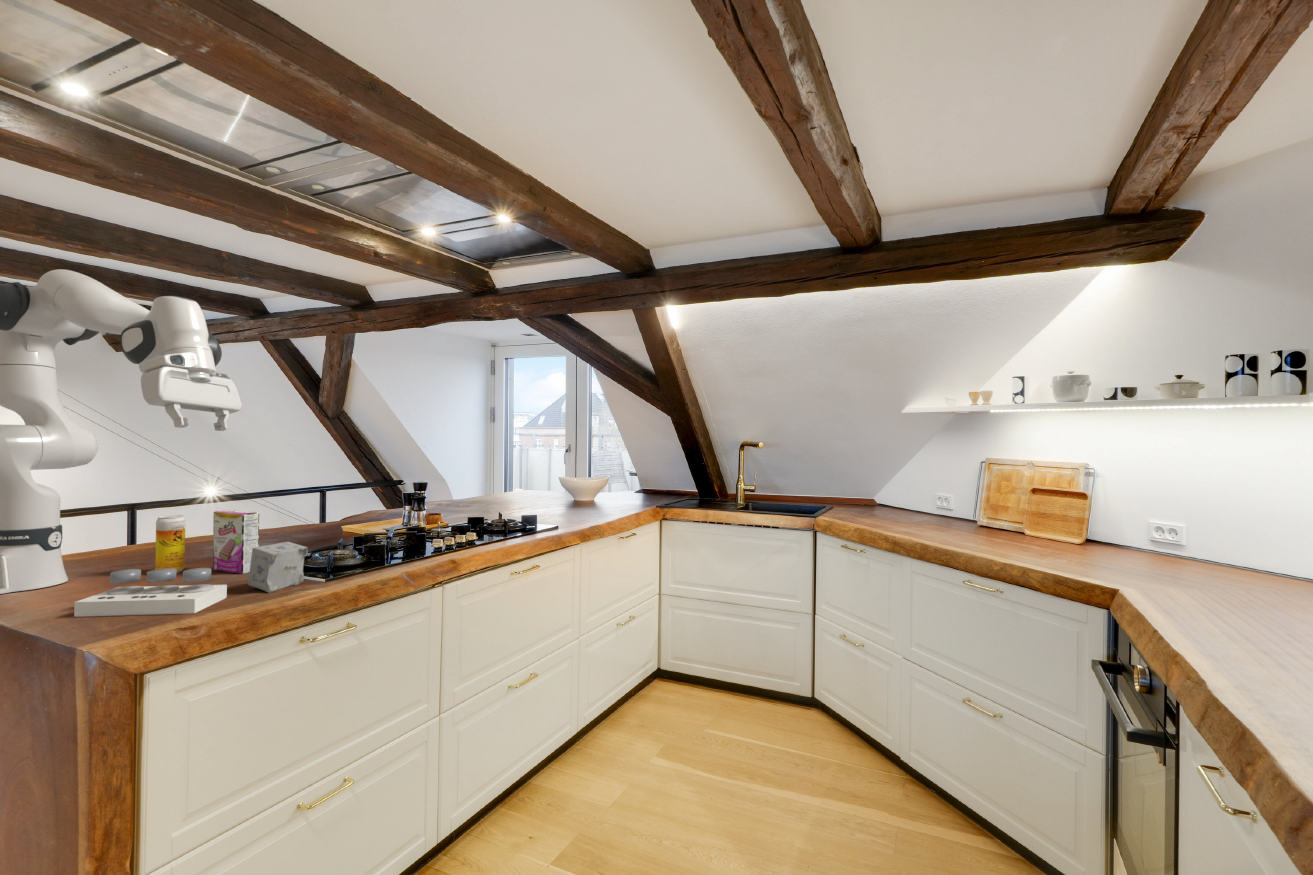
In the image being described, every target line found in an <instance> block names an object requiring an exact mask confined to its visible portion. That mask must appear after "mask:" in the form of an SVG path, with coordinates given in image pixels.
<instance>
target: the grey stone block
mask: <svg viewBox="0 0 1313 875" xmlns="http://www.w3.org/2000/svg"><path fill="white" fill-rule="evenodd" d="M308 549H309V548H308V546H304V545H301V544H297V543H294V542H291V541H283V542H278V543H273V544H268V545H261V546H260V545H259V547H254V548H253V549H252V556H251V564H250V573H248V581H247V585H248V586H250V587H252V588H255V589H260V590H262V591H264V592H266V593H273V592H275V591H277V590H282V589H283V588H288V587H291V586H297V585H300V584H302V583H304V578H305V575H304V564H305V557H307V556H308V553H309V551H308Z"/></svg>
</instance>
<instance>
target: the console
mask: <svg viewBox="0 0 1313 875" xmlns="http://www.w3.org/2000/svg"><path fill="white" fill-rule="evenodd" d="M227 590H228V584H207V583H206V584H203V583H202V584H193V585H192V584H191V585H176V584H168V585H167V584H165V585H153V586H151V585H150V586H145V585H144V586H141V585H129V586H117V587H114V588H111V589H108V590H105V591H103V592H101V593H97V594H94V595H91V596H88V597H86V598H83V599H80V600H76V601H74V605H73V606H74V607H73V608H74V611H73V613H74V614H73V615H74V618H75V617H77V618H79V617H106V616H107V617H112V616H113V617H114V616H115V617H117V616H142V615H143V616H145V615H146V616H151V615H174V614H175V615H180V614H181V615H183V614H185V615H186V614H196V613H198V612H199V611H202V610H204V609H206V608H208V607H210V606H212V605H215V604H217V603H218V602H220V601H223V600H225V599H227V597H228V596H227V595H228V593H227V592H228V591H227Z"/></svg>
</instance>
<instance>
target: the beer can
mask: <svg viewBox="0 0 1313 875" xmlns="http://www.w3.org/2000/svg"><path fill="white" fill-rule="evenodd" d="M185 552H186V519H185V517H184V515H183V514H182V515H179V514H178V515H177V514H175V515H163V516H157V519H156V521H155V558H154V559H155V562H154V563H155V565H154V566H155V568H154V570H157V569H166V568H174V569H176V574H178V573H181V572H183V571H184V570H185V567H186V566H185V565H186V564H185V563H186V562H185V560H186V558H185V557H186V553H185Z"/></svg>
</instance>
